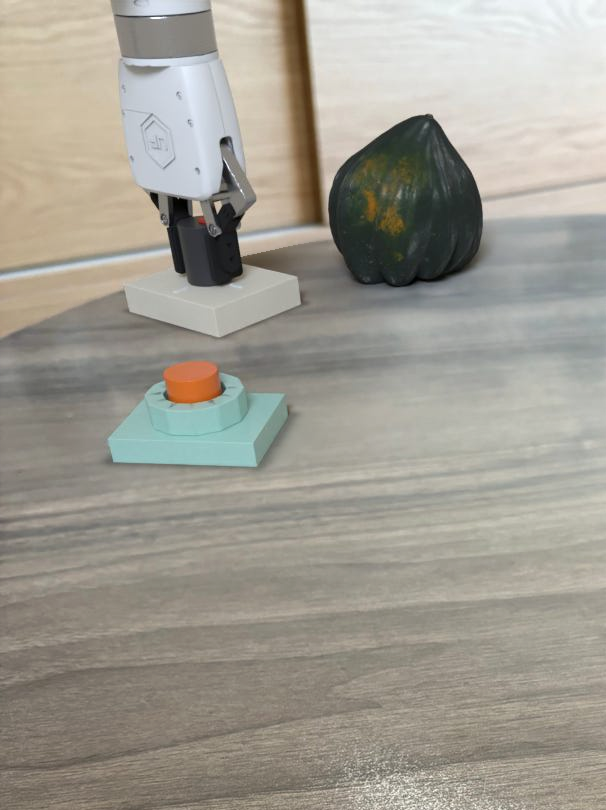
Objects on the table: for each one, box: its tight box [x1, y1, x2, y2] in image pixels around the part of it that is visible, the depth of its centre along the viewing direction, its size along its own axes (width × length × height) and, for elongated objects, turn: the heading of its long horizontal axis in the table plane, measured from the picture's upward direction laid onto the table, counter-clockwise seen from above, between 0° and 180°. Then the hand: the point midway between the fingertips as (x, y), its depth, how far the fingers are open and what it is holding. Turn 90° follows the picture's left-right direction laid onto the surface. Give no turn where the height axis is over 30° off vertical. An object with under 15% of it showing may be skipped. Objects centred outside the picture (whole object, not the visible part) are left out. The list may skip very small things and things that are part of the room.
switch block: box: [107, 372, 289, 468], centre depth 71 cm, size 10×8×4 cm
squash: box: [327, 113, 484, 287], centre depth 98 cm, size 14×15×15 cm
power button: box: [162, 360, 222, 404], centre depth 70 cm, size 4×4×2 cm
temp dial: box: [177, 214, 232, 286], centre depth 91 cm, size 4×4×5 cm
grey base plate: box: [123, 263, 302, 338], centre depth 93 cm, size 12×10×3 cm
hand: (209, 272), depth 92 cm, fingers closed on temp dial, 4 cm apart
